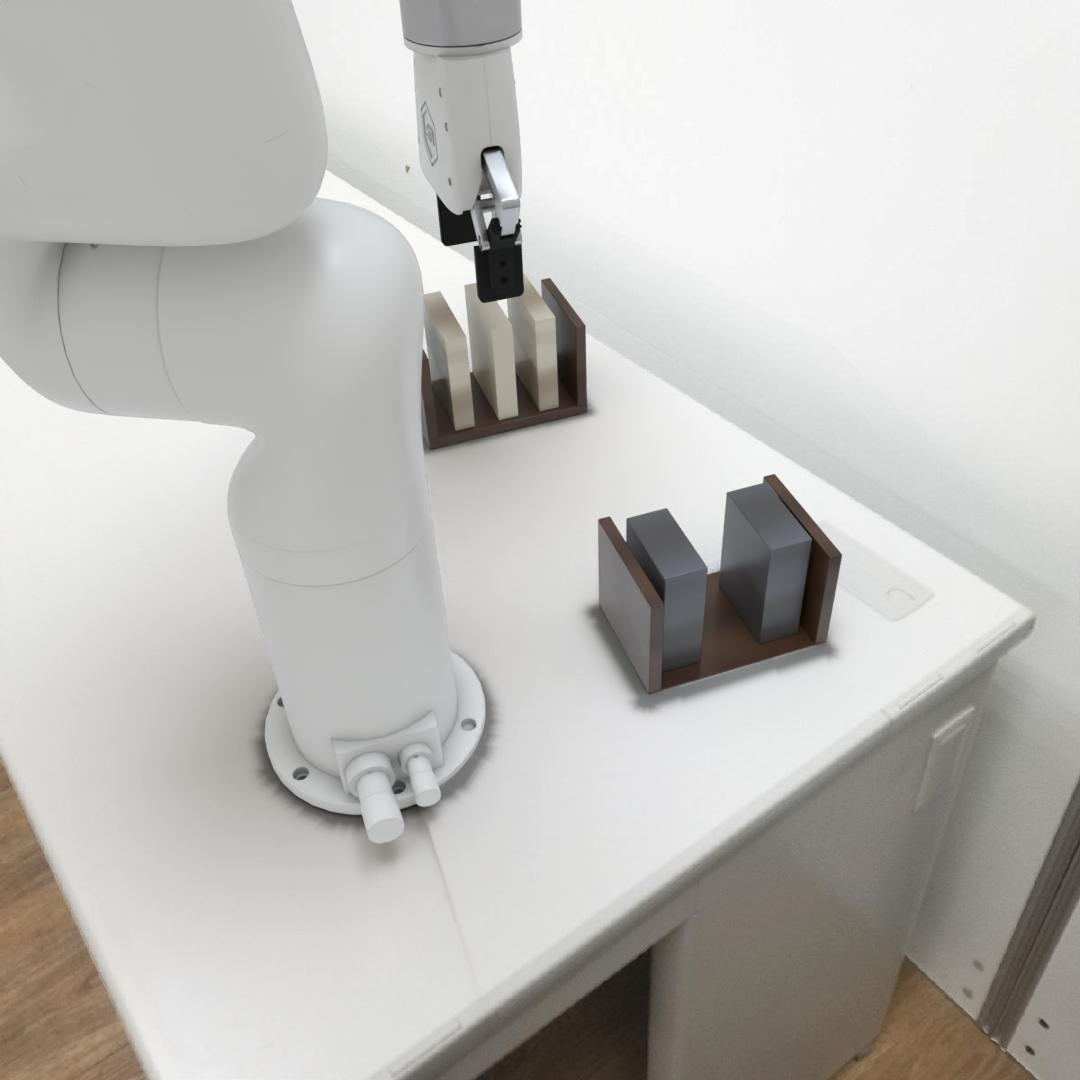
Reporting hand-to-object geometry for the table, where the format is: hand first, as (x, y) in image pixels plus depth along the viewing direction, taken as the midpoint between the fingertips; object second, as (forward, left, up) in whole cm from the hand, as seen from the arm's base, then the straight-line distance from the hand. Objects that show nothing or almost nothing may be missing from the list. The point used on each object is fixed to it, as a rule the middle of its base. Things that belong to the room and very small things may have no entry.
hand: (481, 268), depth 80 cm
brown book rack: (+1, 0, -12) cm, 12 cm away
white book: (+1, 0, -11) cm, 11 cm away
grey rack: (-28, -5, -12) cm, 31 cm away
